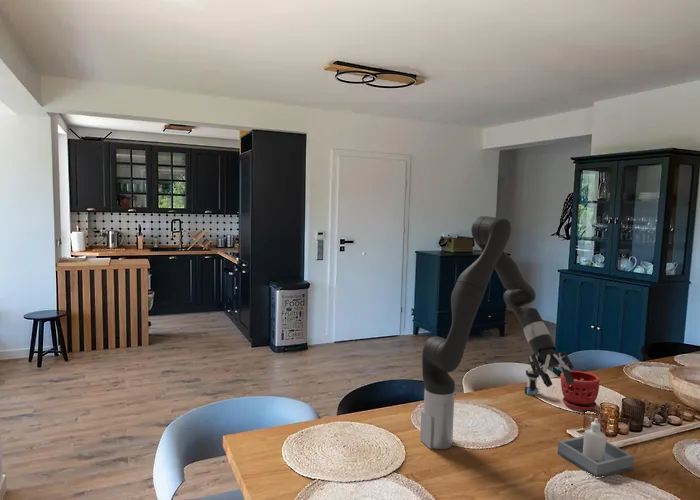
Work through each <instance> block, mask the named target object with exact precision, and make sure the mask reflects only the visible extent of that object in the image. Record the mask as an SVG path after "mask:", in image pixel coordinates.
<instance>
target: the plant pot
mask: <svg viewBox="0 0 700 500" xmlns="http://www.w3.org/2000/svg"><path fill="white" fill-rule="evenodd" d="M570 373H571V375H572V377H573V379H574V382H573V383H572V384H568V383H567V381H566V379H565V377H564V375H563V374H564V373H563V372H561V374H560V387H561V392H562V395H563V398H562V402H563V404H564V405H565V406H566V407H568V408H569V407H570V409H573V410H575V411H582V412H583V411H584V412H587V411H586V410H590V411H593V410H595V409H596V408H597V405H598V404H597V402H596V400H597V398H598V395H599V392H600V377H599V376H597V375H595V374H593V373H589V372H586V371H585V372H584V371H578V370H570Z"/></svg>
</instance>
